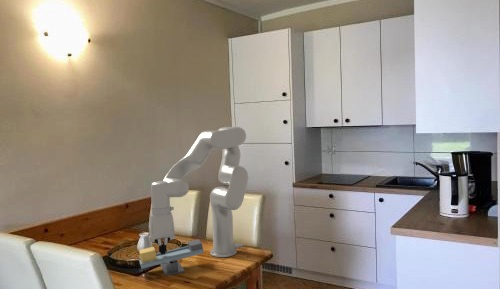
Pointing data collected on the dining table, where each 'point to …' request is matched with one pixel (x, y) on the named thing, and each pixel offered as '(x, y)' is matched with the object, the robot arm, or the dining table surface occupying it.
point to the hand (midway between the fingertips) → (162, 253)
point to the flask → (146, 242)
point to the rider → (147, 254)
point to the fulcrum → (172, 268)
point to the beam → (176, 254)
